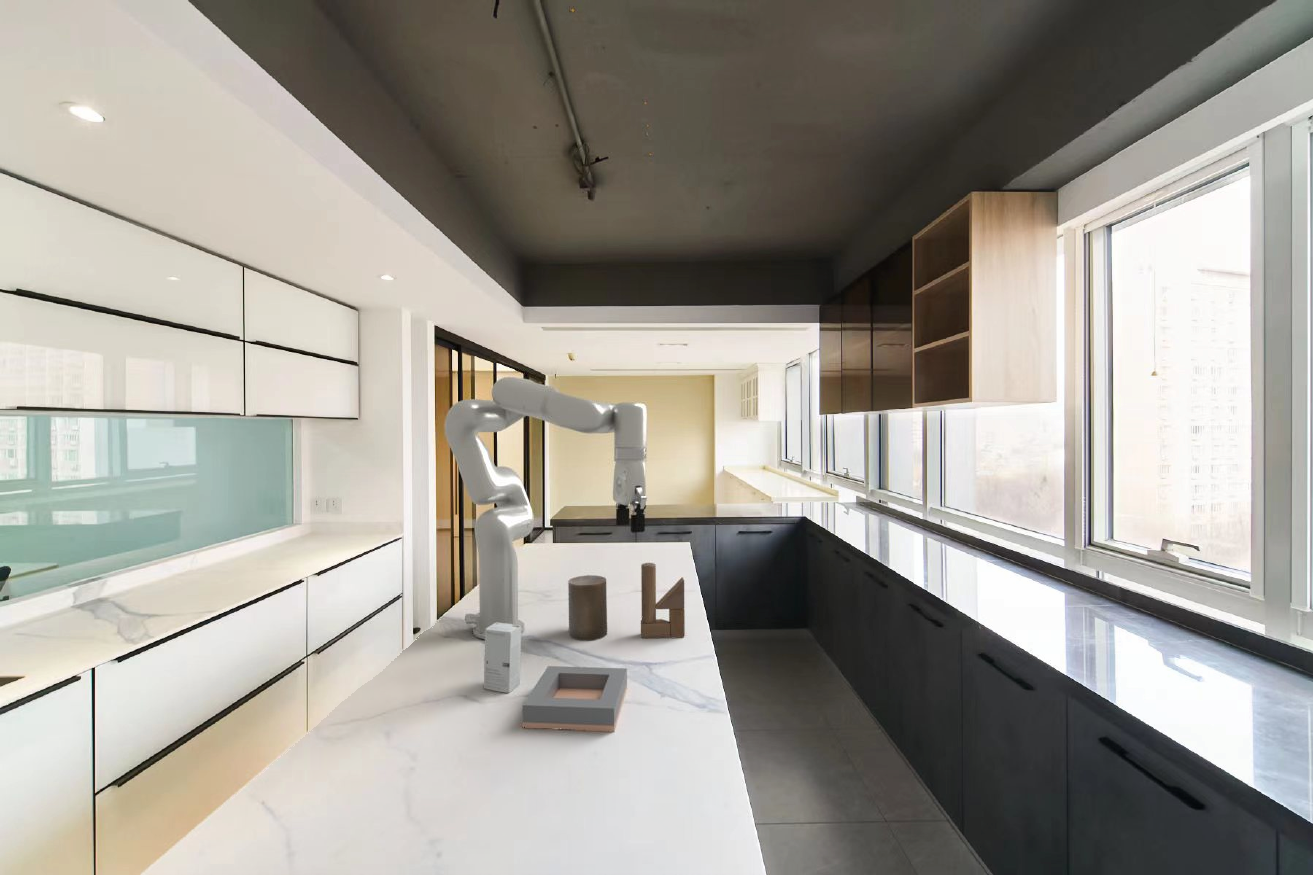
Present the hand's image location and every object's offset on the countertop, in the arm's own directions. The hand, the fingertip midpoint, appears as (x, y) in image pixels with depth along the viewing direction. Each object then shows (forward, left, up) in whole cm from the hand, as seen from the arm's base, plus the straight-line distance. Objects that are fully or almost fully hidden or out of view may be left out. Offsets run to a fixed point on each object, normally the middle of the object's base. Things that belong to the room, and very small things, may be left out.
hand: (629, 528), depth 131 cm
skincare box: (-23, -21, -29) cm, 42 cm away
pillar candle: (-12, +9, -29) cm, 32 cm away
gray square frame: (-6, -28, -28) cm, 40 cm away
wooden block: (+7, +9, -29) cm, 31 cm away
